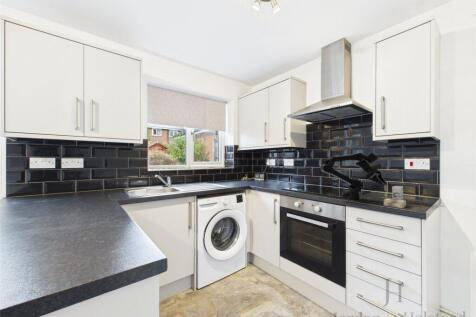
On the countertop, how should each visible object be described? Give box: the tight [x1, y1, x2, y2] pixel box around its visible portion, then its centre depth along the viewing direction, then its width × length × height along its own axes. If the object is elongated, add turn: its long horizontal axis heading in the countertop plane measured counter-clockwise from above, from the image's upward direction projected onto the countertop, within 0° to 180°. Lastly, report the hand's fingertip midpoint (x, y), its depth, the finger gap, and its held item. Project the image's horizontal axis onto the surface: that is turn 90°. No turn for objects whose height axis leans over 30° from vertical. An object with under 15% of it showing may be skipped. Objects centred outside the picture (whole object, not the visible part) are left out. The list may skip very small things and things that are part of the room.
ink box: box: [391, 185, 404, 200], centre depth 138 cm, size 8×5×12 cm, turn 135°
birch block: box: [383, 198, 407, 209], centre depth 132 cm, size 10×7×4 cm
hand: (384, 183), depth 144 cm, fingers open, 9 cm apart
